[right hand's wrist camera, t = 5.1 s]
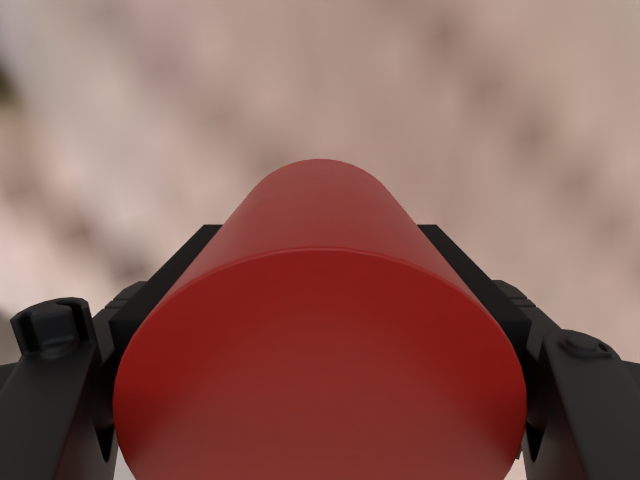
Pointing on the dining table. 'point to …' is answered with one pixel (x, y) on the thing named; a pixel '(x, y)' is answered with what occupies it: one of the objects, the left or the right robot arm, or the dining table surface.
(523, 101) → the dining table surface
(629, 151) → the dining table surface
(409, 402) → the can
